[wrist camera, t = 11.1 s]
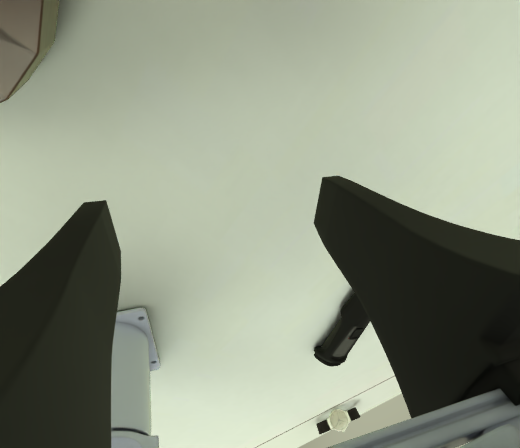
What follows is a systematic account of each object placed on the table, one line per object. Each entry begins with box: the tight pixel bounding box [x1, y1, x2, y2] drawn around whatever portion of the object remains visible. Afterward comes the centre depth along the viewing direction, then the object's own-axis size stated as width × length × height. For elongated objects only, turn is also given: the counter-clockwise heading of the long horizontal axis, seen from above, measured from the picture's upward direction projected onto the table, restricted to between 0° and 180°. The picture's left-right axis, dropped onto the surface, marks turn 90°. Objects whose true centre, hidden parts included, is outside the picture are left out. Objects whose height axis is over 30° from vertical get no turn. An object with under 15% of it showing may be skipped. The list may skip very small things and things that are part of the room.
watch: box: [316, 408, 360, 434], centre depth 55 cm, size 8×5×4 cm, turn 102°
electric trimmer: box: [314, 293, 370, 366], centre depth 36 cm, size 4×16×3 cm, turn 163°
